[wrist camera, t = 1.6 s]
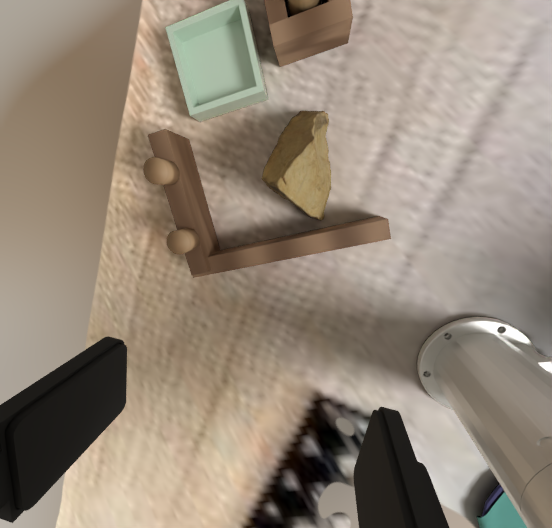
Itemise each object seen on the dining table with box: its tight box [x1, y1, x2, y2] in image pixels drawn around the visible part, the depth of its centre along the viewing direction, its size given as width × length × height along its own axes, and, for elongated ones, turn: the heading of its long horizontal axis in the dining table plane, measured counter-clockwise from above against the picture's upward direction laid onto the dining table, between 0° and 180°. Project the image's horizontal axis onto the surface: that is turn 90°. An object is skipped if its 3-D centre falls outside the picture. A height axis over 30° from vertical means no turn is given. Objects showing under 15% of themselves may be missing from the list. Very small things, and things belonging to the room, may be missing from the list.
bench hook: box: [144, 129, 391, 278], centre depth 27 cm, size 22×16×7 cm
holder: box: [264, 0, 353, 67], centre depth 24 cm, size 7×7×4 cm
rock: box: [262, 111, 331, 221], centre depth 27 cm, size 11×9×10 cm
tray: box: [165, 0, 268, 122], centre depth 28 cm, size 8×8×2 cm
